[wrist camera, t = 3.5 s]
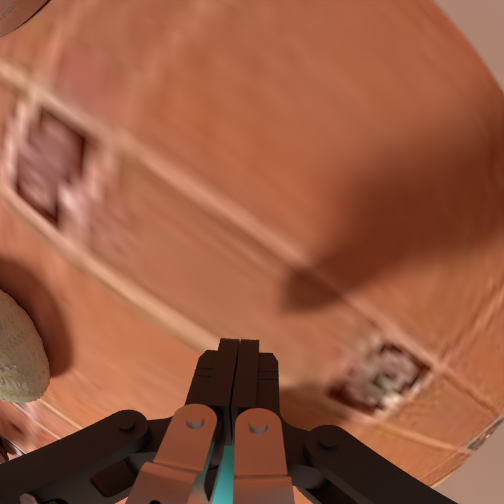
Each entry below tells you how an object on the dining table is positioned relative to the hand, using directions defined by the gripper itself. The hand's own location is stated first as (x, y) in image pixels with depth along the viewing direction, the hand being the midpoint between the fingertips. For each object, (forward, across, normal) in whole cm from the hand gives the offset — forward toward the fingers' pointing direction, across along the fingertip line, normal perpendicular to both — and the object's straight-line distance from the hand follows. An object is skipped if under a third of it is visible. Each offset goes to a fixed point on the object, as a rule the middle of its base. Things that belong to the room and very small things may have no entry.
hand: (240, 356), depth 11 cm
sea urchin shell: (+3, +17, +3) cm, 18 cm away
